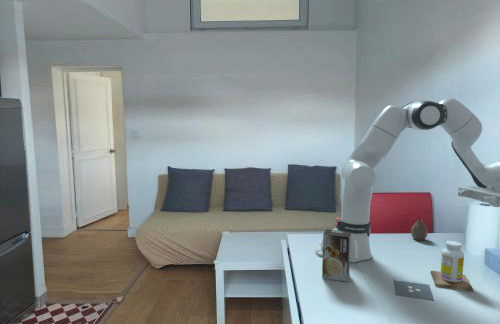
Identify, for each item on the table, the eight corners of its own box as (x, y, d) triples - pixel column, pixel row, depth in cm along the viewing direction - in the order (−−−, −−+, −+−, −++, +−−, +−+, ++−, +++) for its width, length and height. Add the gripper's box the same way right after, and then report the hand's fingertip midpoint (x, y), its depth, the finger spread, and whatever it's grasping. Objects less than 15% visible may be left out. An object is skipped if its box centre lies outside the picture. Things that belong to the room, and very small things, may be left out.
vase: (428, 242, 167) (430, 223, 166) (412, 241, 168) (413, 222, 167) (424, 237, 173) (426, 219, 172) (409, 236, 175) (410, 218, 174)
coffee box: (350, 275, 131) (352, 231, 129) (348, 282, 125) (350, 237, 123) (324, 270, 135) (326, 228, 133) (321, 278, 129) (322, 233, 127)
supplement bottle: (459, 276, 129) (462, 241, 127) (463, 284, 122) (467, 247, 121) (438, 273, 131) (441, 238, 129) (441, 281, 125) (444, 245, 123)
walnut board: (435, 286, 123) (435, 283, 123) (430, 273, 134) (430, 270, 133) (472, 291, 120) (472, 288, 120) (464, 277, 130) (464, 274, 130)
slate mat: (396, 295, 117) (396, 294, 117) (394, 280, 127) (394, 279, 127) (434, 300, 113) (434, 300, 113) (428, 285, 124) (429, 284, 124)
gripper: (474, 181, 145) (447, 182, 140) (528, 192, 126) (499, 194, 121) (472, 197, 145) (446, 199, 141) (526, 210, 126) (497, 212, 122)
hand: (470, 196), depth 131 cm, fingers open, 8 cm apart
